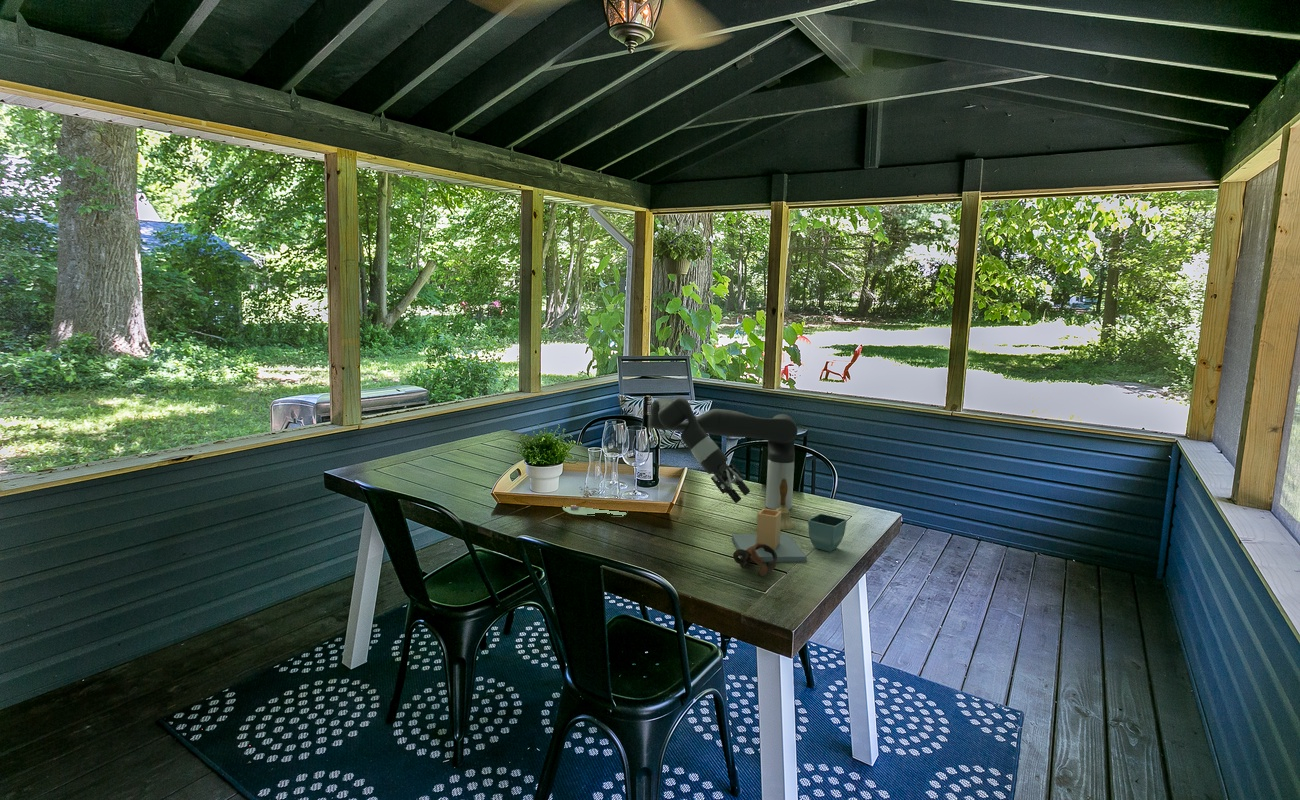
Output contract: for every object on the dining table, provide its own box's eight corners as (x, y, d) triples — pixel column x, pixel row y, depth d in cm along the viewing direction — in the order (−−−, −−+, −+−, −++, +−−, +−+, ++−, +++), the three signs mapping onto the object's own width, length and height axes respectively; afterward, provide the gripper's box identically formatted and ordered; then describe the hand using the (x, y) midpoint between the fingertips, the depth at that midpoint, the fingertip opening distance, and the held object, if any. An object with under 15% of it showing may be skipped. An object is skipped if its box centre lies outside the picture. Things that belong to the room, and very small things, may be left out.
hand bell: (794, 530, 214) (797, 483, 212) (768, 528, 216) (771, 481, 213) (794, 522, 222) (797, 476, 220) (769, 520, 224) (771, 474, 221)
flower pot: (818, 540, 206) (820, 512, 205) (845, 547, 201) (847, 519, 199) (805, 548, 199) (807, 519, 198) (833, 556, 194) (835, 526, 193)
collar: (756, 546, 196) (757, 513, 195) (761, 540, 201) (763, 508, 200) (774, 549, 194) (776, 516, 192) (779, 543, 199) (781, 511, 197)
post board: (731, 538, 206) (733, 513, 205) (788, 538, 207) (790, 513, 206) (744, 562, 188) (745, 534, 187) (806, 561, 190) (808, 534, 188)
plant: (640, 505, 239) (641, 481, 237) (616, 523, 220) (617, 497, 218) (578, 496, 247) (578, 472, 246) (550, 512, 228) (550, 487, 227)
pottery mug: (763, 561, 190) (775, 542, 186) (770, 588, 182) (784, 569, 178) (724, 554, 187) (737, 534, 183) (731, 581, 179) (743, 561, 175)
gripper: (708, 457, 209) (742, 498, 206) (691, 467, 196) (726, 511, 193) (725, 443, 206) (759, 484, 203) (709, 452, 193) (744, 496, 190)
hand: (743, 497), depth 198 cm, fingers open, 8 cm apart
